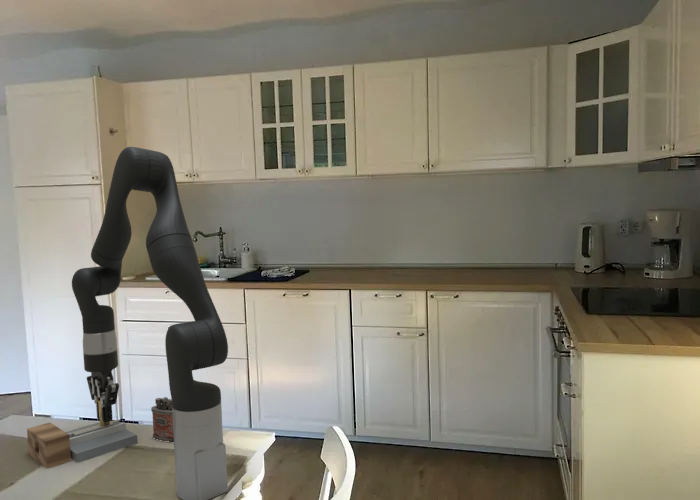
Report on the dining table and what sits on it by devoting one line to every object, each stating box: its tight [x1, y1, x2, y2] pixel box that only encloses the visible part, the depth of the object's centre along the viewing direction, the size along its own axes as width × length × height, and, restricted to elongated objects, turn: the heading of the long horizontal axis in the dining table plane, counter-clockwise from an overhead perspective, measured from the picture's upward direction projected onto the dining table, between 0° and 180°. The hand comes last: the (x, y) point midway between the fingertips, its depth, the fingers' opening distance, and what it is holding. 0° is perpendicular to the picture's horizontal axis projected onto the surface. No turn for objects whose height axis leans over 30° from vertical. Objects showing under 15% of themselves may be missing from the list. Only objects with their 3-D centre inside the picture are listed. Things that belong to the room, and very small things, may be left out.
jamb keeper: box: [26, 422, 72, 469], centre depth 131 cm, size 12×5×6 cm, turn 46°
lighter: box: [150, 396, 174, 443], centre depth 140 cm, size 8×3×10 cm, turn 62°
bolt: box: [72, 400, 113, 437], centre depth 138 cm, size 2×9×8 cm, turn 136°
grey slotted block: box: [65, 419, 139, 463], centre depth 139 cm, size 16×14×4 cm
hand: (104, 419), depth 141 cm, fingers closed on bolt, 2 cm apart
